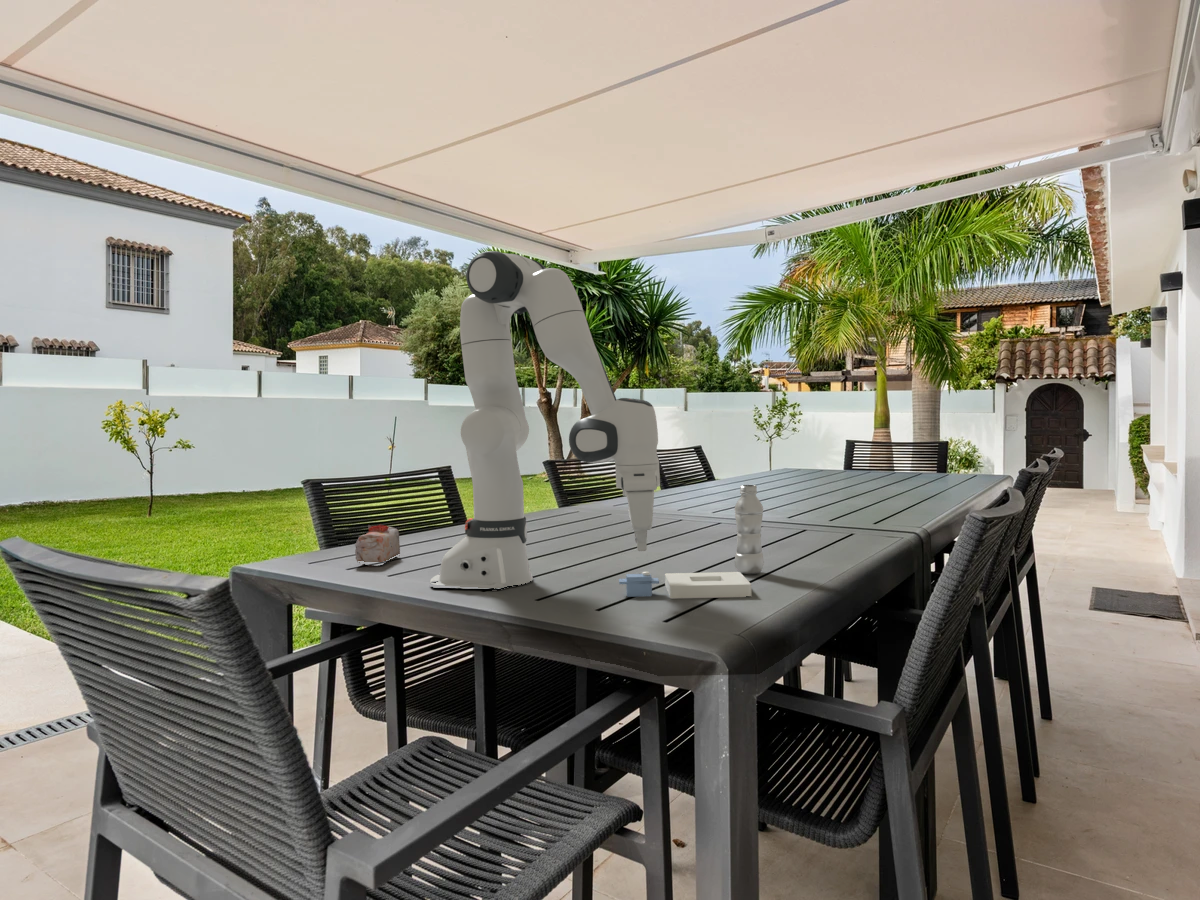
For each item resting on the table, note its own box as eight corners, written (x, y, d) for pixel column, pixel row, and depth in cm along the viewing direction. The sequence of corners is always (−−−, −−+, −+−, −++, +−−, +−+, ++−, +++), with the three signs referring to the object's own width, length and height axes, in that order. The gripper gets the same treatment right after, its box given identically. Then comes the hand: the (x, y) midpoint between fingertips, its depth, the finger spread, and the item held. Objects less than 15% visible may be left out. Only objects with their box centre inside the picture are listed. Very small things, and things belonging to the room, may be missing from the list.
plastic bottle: (729, 574, 171) (727, 486, 170) (745, 569, 176) (744, 483, 175) (753, 577, 167) (752, 487, 166) (769, 572, 172) (768, 485, 171)
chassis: (670, 598, 149) (670, 586, 149) (665, 585, 161) (664, 573, 161) (751, 596, 149) (751, 584, 149) (740, 583, 161) (739, 571, 161)
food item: (384, 567, 187) (383, 528, 187) (353, 568, 188) (351, 528, 187) (403, 557, 201) (401, 520, 200) (373, 557, 201) (372, 521, 201)
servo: (619, 597, 152) (619, 574, 152) (619, 593, 155) (618, 571, 155) (659, 596, 152) (659, 573, 152) (658, 592, 155) (657, 570, 155)
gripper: (620, 475, 163) (623, 539, 163) (623, 483, 142) (626, 556, 143) (650, 473, 163) (652, 537, 163) (657, 481, 142) (660, 554, 143)
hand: (640, 546), depth 153 cm, fingers open, 8 cm apart
